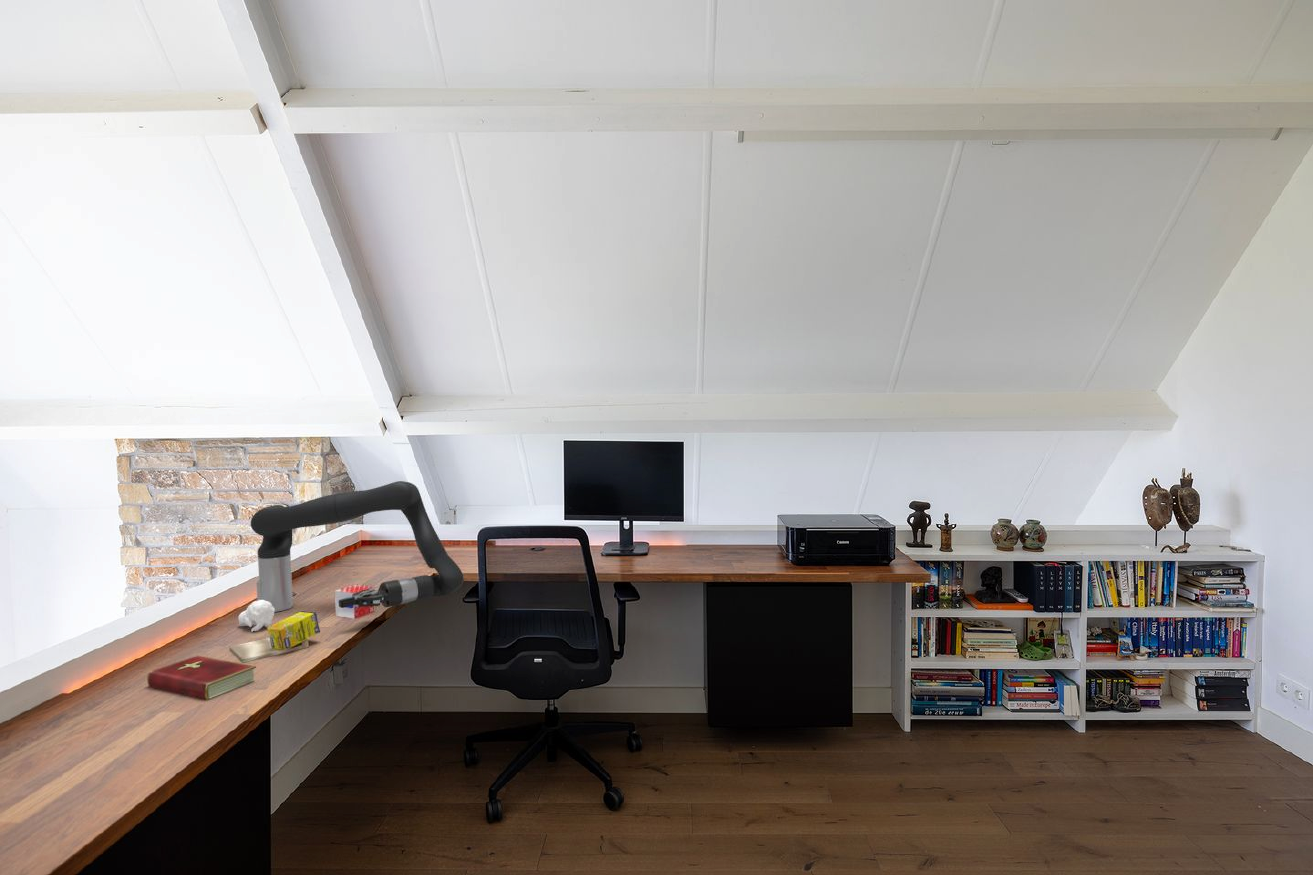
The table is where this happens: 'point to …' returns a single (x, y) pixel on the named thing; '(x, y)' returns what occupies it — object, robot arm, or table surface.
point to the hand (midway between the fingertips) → (339, 604)
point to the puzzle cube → (352, 610)
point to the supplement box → (293, 630)
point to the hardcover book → (201, 676)
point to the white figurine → (257, 615)
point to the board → (261, 649)
